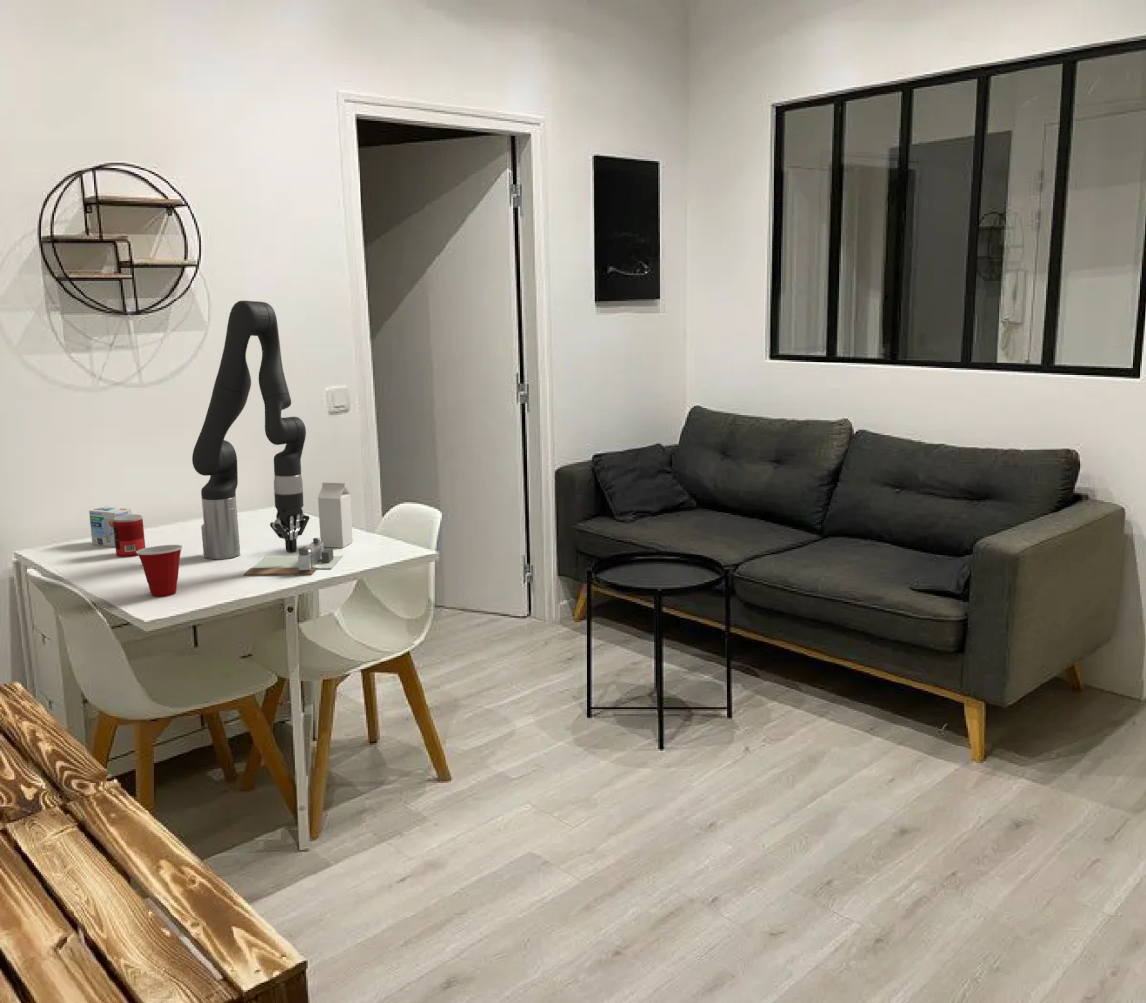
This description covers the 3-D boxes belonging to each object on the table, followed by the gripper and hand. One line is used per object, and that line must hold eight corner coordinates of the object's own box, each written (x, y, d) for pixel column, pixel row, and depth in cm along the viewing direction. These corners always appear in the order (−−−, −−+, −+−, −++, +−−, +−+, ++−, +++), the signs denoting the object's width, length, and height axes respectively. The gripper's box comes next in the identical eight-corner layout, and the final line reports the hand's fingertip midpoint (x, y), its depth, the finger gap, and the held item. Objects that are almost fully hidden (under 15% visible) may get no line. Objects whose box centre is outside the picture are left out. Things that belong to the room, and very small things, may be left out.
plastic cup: (176, 585, 259) (172, 540, 257) (193, 593, 251) (189, 547, 249) (133, 593, 252) (128, 547, 249) (150, 602, 244) (145, 554, 242)
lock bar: (310, 570, 268) (309, 551, 267) (298, 570, 268) (297, 551, 267) (324, 555, 283) (323, 537, 282) (313, 555, 283) (312, 537, 282)
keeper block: (322, 564, 278) (321, 552, 277) (326, 560, 283) (325, 548, 282) (329, 564, 278) (328, 552, 277) (333, 560, 283) (332, 548, 282)
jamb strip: (243, 575, 267) (243, 572, 267) (250, 570, 273) (250, 566, 273) (311, 575, 267) (311, 572, 267) (317, 569, 273) (317, 566, 273)
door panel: (250, 570, 273) (250, 568, 273) (265, 557, 286) (265, 556, 286) (331, 569, 273) (331, 567, 273) (342, 557, 286) (342, 555, 285)
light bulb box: (91, 545, 303) (87, 510, 301) (109, 540, 310) (105, 505, 307) (118, 547, 299) (114, 512, 297) (135, 542, 306) (132, 508, 303)
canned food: (151, 552, 294) (148, 515, 291) (129, 558, 287) (125, 521, 284) (132, 549, 297) (129, 513, 295) (110, 555, 290) (106, 518, 288)
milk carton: (343, 548, 296) (339, 485, 292) (320, 547, 298) (317, 484, 294) (353, 542, 303) (349, 480, 299) (331, 541, 304) (327, 480, 301)
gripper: (280, 496, 265) (283, 559, 269) (316, 488, 276) (318, 549, 280) (260, 493, 269) (263, 555, 272) (296, 485, 280) (298, 545, 283)
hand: (291, 552), depth 276 cm, fingers closed
